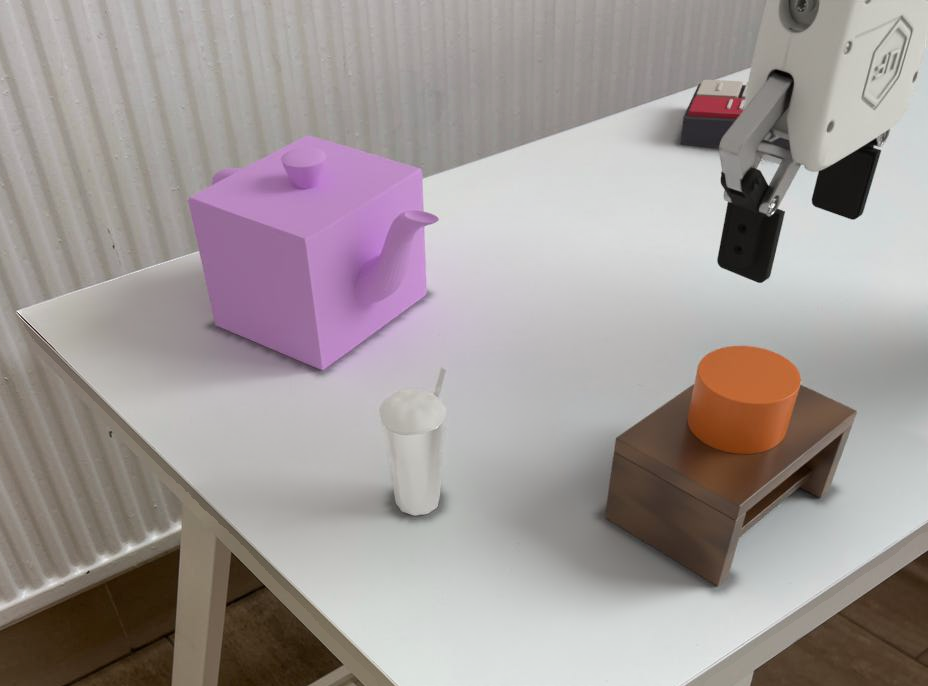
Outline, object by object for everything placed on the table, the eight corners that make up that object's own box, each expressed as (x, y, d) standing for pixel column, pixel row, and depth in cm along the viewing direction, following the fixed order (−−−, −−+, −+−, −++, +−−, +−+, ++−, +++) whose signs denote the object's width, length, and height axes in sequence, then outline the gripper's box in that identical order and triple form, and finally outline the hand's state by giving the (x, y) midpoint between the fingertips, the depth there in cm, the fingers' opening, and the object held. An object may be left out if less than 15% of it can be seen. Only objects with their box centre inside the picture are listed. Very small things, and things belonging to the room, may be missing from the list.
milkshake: (468, 495, 73) (467, 381, 65) (417, 531, 70) (410, 416, 63) (426, 469, 75) (420, 355, 67) (374, 502, 72) (363, 388, 65)
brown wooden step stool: (828, 491, 72) (857, 410, 67) (717, 586, 66) (739, 506, 61) (717, 433, 77) (736, 353, 72) (604, 517, 71) (615, 437, 65)
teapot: (388, 398, 81) (375, 235, 70) (177, 309, 91) (139, 155, 80) (489, 317, 89) (492, 160, 78) (286, 243, 99) (264, 95, 88)
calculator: (699, 75, 117) (830, 81, 113) (695, 113, 120) (822, 120, 116) (683, 110, 110) (821, 118, 106) (679, 150, 113) (813, 158, 109)
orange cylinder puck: (805, 423, 66) (821, 372, 63) (749, 467, 63) (763, 416, 60) (724, 384, 69) (736, 334, 66) (667, 424, 66) (677, 374, 63)
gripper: (850, -61, 39) (760, 325, 52) (1044, -147, 46) (923, 208, 59) (695, -91, 42) (648, 276, 55) (898, -167, 50) (815, 172, 63)
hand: (790, 241), depth 57 cm, fingers open, 9 cm apart
